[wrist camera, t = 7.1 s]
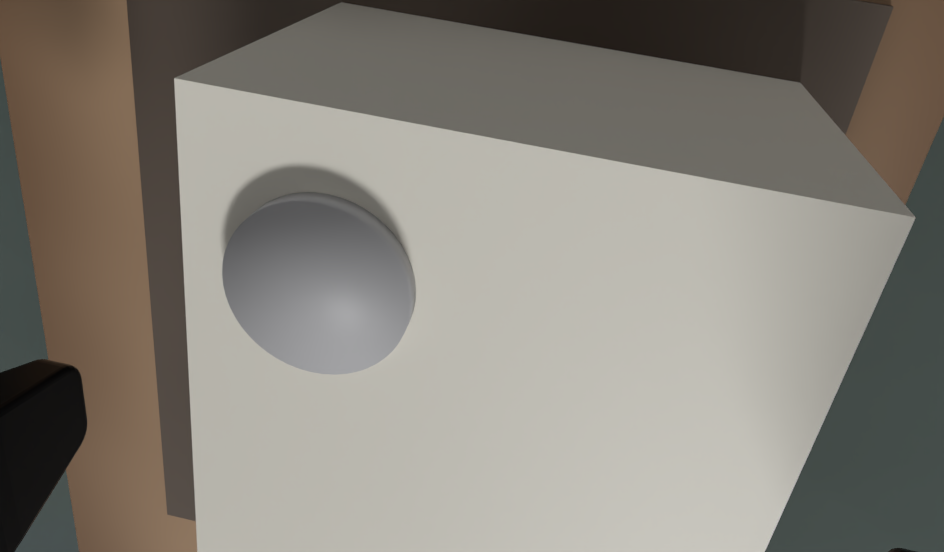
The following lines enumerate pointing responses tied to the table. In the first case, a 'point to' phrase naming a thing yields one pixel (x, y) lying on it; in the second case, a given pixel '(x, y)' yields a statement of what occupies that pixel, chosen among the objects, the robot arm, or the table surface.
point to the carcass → (158, 194)
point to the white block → (510, 291)
